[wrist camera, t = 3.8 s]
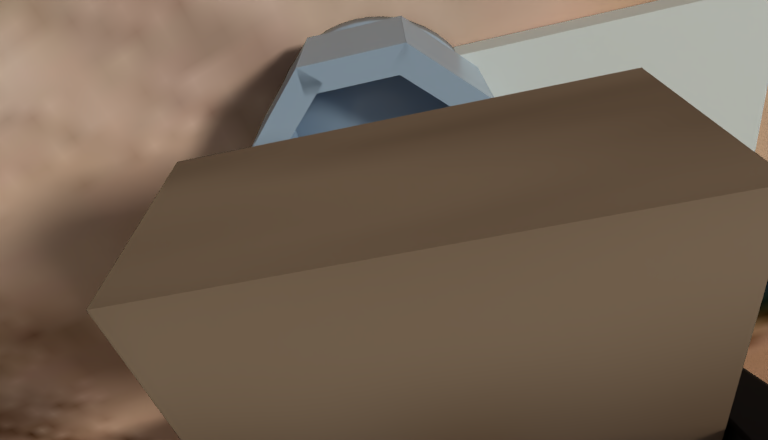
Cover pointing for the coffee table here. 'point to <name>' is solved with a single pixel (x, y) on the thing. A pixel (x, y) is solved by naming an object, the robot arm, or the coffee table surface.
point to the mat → (647, 55)
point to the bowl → (369, 78)
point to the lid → (455, 275)
